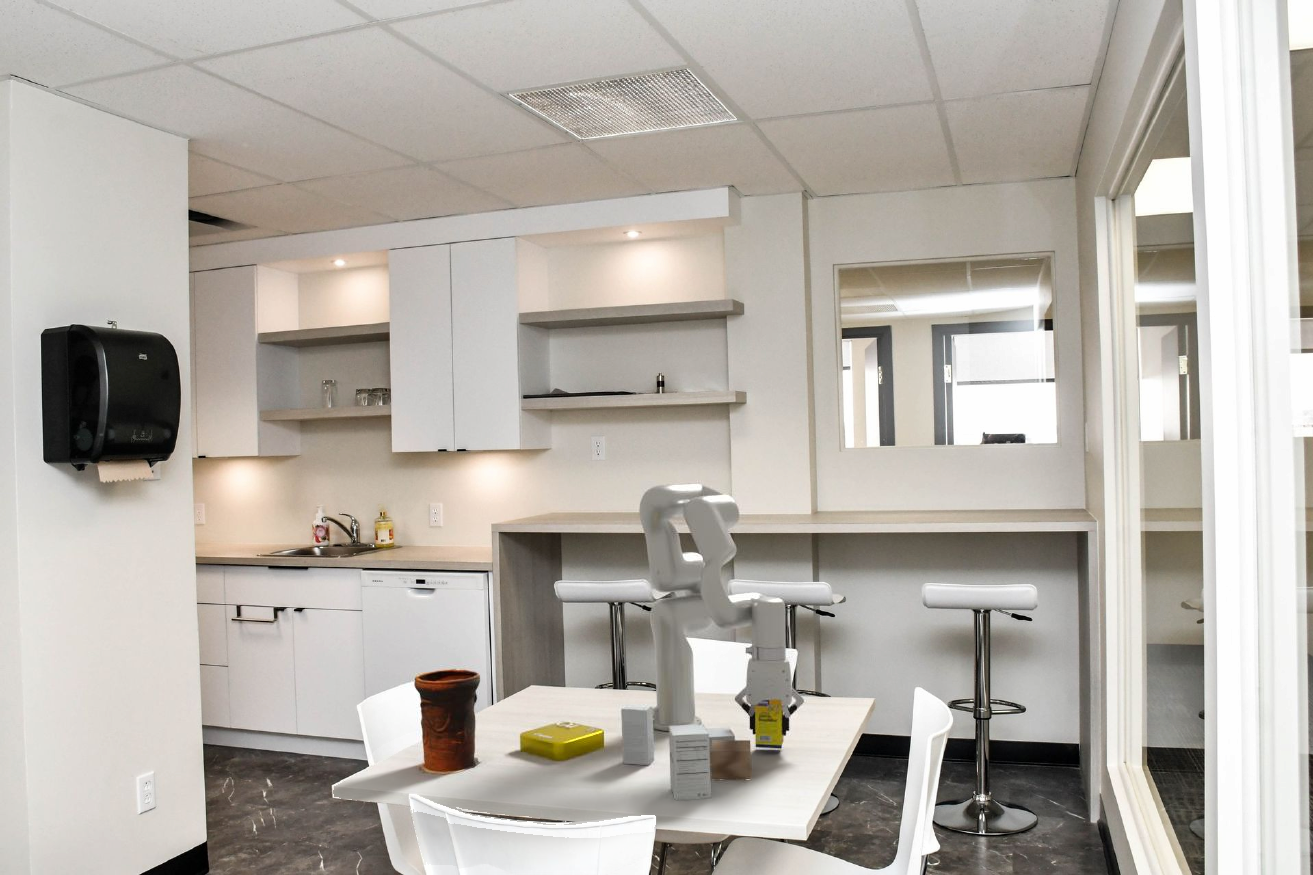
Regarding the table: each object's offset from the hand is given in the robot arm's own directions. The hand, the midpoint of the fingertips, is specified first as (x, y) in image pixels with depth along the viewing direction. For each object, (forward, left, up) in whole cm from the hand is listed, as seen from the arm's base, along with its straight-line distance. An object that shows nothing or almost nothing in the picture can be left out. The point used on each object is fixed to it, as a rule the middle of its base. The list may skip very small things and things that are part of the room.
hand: (769, 732), depth 224 cm
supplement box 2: (0, 0, -3) cm, 3 cm away
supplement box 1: (-14, -30, -4) cm, 33 cm away
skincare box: (-28, -10, -4) cm, 30 cm away
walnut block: (-7, -17, -4) cm, 19 cm away
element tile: (-48, 0, -5) cm, 48 cm away
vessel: (-70, -14, -4) cm, 72 cm away
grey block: (-11, -7, -4) cm, 14 cm away
